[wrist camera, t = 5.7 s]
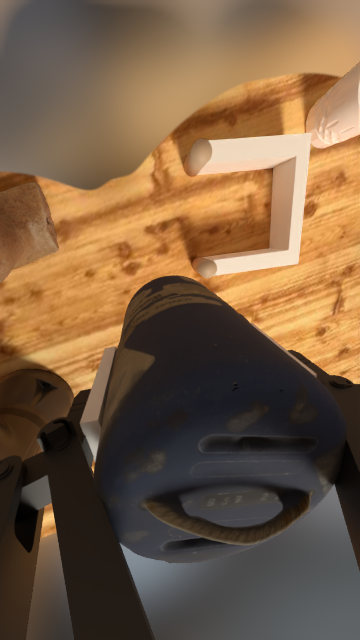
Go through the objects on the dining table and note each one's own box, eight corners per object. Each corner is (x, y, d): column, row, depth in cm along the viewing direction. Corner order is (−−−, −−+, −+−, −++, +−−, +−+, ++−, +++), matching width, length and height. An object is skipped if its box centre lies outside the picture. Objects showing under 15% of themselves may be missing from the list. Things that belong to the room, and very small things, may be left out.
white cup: (332, 159, 37) (395, 133, 28) (294, 145, 35) (347, 112, 26) (354, 101, 34) (431, 51, 25) (313, 83, 32) (380, 23, 23)
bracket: (192, 272, 40) (200, 279, 34) (182, 156, 33) (190, 139, 27) (277, 260, 42) (299, 265, 36) (285, 148, 35) (313, 130, 29)
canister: (150, 254, 20) (184, 343, 3) (230, 296, 23) (465, 456, 6) (111, 339, 22) (19, 634, 6) (188, 367, 25) (276, 617, 9)
